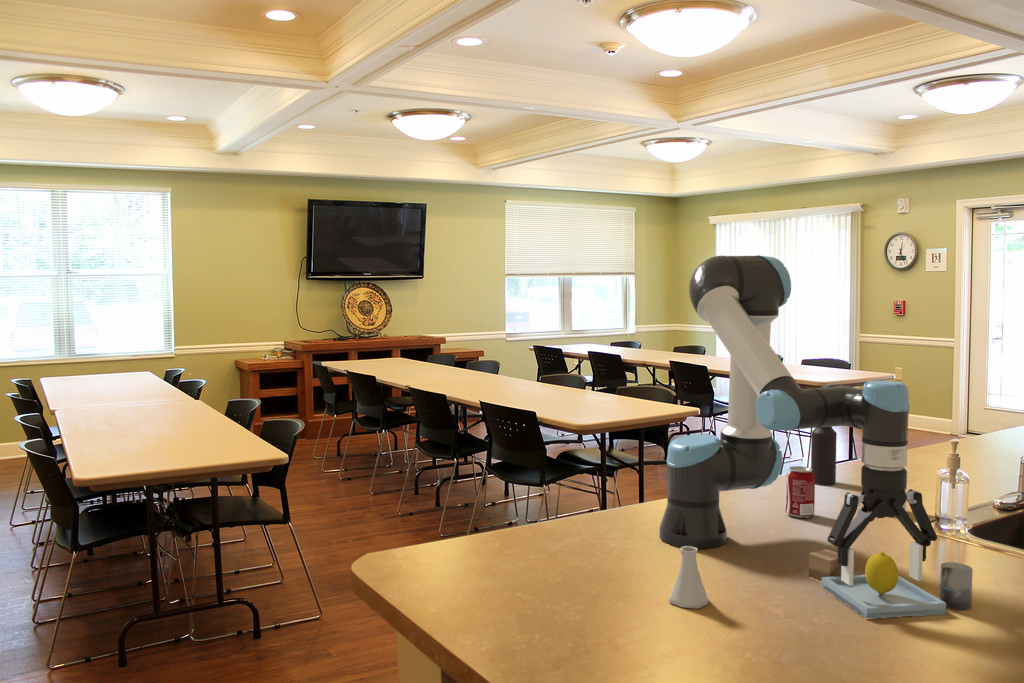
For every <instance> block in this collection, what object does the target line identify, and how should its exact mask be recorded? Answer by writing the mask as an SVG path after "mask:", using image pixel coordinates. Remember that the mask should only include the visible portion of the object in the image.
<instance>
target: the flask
mask: <svg viewBox="0 0 1024 683" xmlns="http://www.w3.org/2000/svg"><path fill="white" fill-rule="evenodd" d="M679 549H680V553H681V563H680V567H679V568H680V569H679V570H678V573H677V577H676V579H675V583H674V584H673V587H672V590H671V593H670V596H669V601H668V603H669V604H673V605H675V606H678V607H680V608H684V609H685V608H687V609H701V608H703V607H706V606H708V605H709V598H708V594H707V591H706V589H705V586H704V583H703V581H702V578H701V575H700V572H699V569H698V563H697V554H698V551H699V548H695V547H691V546H684V547H680V548H679Z"/></svg>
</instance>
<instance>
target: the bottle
mask: <svg viewBox="0 0 1024 683" xmlns="http://www.w3.org/2000/svg"><path fill="white" fill-rule="evenodd" d="M810 440H811V442H810V443H811V444H810V445H811V448H810V449H811V450H810V455H811V456H810V468H811V469H812V473H813V474H814V476H815V485H819V486H833V485H836V481H837V480H836V479H837V431H835V430H834V428H833V427H821V428H813V430H812V431H811V439H810Z"/></svg>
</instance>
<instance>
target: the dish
mask: <svg viewBox="0 0 1024 683" xmlns="http://www.w3.org/2000/svg"><path fill="white" fill-rule="evenodd" d="M822 587H823V588H824V589H826V590H827V591H828V592H827V591H826V590H825V591H826V592H827V593H829V592H830V593H831V594H833V595H834V596H835V598H836V597H837V598H838V599H840V600H841V601H843V602H844V603H846V604H847V605H849V606H850V607H851V608H853V609H854V610H856V611H857V612H858V613H859V614H861V615H862V616H863V617H862V616H861V615H860V616H861V617H862V618H864V617H865V618H866V619H867V618H883V617H898V618H902V617H901V616H912V617H921V616H922V617H924V616H925V617H927V616H938V615H939V616H940V615H946V614H947V607H946V603H945V602H944V601H942V600H940V598H938V597H937V596H935V595H933V594H931V593H930V592H928V591H926V590H924V589H923V588H921V587H919V586H918V585H916V584H914V583H912V582H911V581H909V580H907V579H906V578H904V577H902V576H900V575H899V574H898V582H897V584H896V586H895V588H894V589H893V590H891V591H890V592H886V593H885V594H883V595H879V594H878V592H877V591H875V590H873V589H872V588H871V587H870V586H869V585H868V583H867V581H866V577H865V574H856V575H855V574H853V585H848V584H846V583H845V582H843V581H842V580H841V576H835V577H822V583H821V588H822ZM823 588H822V589H823ZM824 589H823V590H824ZM830 593H829V594H830ZM831 594H830V595H831ZM833 595H832V596H833ZM834 596H833V597H834ZM837 598H836V599H837ZM838 599H837V600H838ZM840 600H839V601H840ZM841 601H840V602H841ZM843 602H842V603H843ZM844 603H843V604H844ZM847 605H846V606H847ZM850 607H849V608H850ZM851 608H850V609H851ZM854 610H853V611H854ZM857 612H856V613H857ZM858 613H857V614H858ZM859 614H858V615H859ZM865 618H864V619H865ZM866 619H865V620H866Z"/></svg>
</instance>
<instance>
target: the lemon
mask: <svg viewBox="0 0 1024 683" xmlns="http://www.w3.org/2000/svg"><path fill="white" fill-rule="evenodd" d="M864 575H865V577H866V581H867V583H868V585H869V586H870V587H871V588H872V589H873V590H875V591H877V592H878V594H879V595H883V594H885V593H886V592H890V591H891V590H893V589H894V588H895V586H896V584H897V582H898V575H899V569H898V566H897V564H896V562H895V560H894V559H893V558H892V557H891V556H889V555H887V554H886V553H885V552H883V551H879V553H875V554H873V555H871V556H870V557H869V558H868V560H867V561H866V564H865V569H864Z"/></svg>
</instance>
